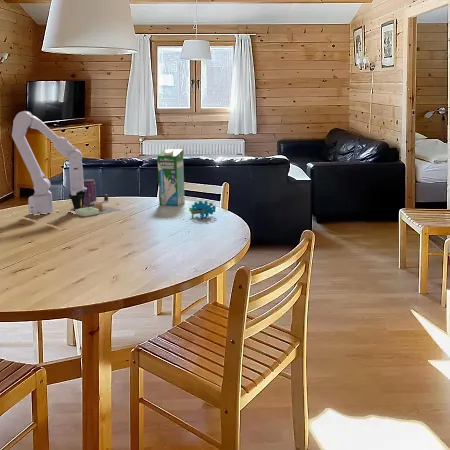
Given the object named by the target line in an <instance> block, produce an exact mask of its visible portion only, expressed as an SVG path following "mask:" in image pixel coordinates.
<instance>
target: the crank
mask: <svg viewBox="0 0 450 450" xmlns="http://www.w3.org/2000/svg"><path fill="white" fill-rule="evenodd" d="M97 204H102V205H103V204H109V194H107V193H106V194H103V200H96V202H88V203H87V205H88V206H93V205H97Z"/></svg>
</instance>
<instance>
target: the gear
mask: <svg viewBox="0 0 450 450" xmlns="http://www.w3.org/2000/svg"><path fill="white" fill-rule="evenodd" d="M213 204H214V203H212V202H209V204H208V201H207V200H205V201H204V202H203V201H202V200H198V202H197V201H195V202H194V203H193V204H191V207H189V210H188V211H189V212H190V214H191V219H194V217H195V216H194V215H199V216H201V220H204V219H205V216H206V217H208V216H209V215H211V216H212V215H214V213H216V206H215V205H213Z"/></svg>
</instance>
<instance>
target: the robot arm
mask: <svg viewBox="0 0 450 450" xmlns="http://www.w3.org/2000/svg"><path fill="white" fill-rule="evenodd" d="M12 122H13V125H12V130H11V131H12V132H11V138H12V139H13V142H14V144H15V146H16V148H17V150H18V152H19V154H20V156H21V158H22V160H23V163H24V165H25V166H26V168H27V170H28V172H29V175H30V178H31V180H32V184H33V190H34V192H33V195H31V196H29V197H28V198H27V199H28V200H27V201H28V204H27V205H28V212H29V213H32V214H42V213H51V212H53V213H54V207H53V194H52V192H51V191H50V189H51V187H52V186H51V184H52V183H51V180H50V179H48V178H47V177H46V176H45V173H44V172H43V170H42V169H41V167H40V165H39V163H38V160H37V159H36V156H35V155H34V152H33V150H32V148H31V146H30V144H29V142H28V140H27V137H26V134H27V131H28V129H29V128H30V129H33V130H38V131H39V132H40V133H41V134H42V135H44V136H45V137H46V138H47V139H49V140H50V141H51V142H52V143H53V144H52V145H53V148H54V149H56V150H57V151H58V152H59V153H60V154H61V155H62V156H64V157H66V158H67V161H68V162H69V163H68V164H69V167H68V172H69V185H70V188H69V190H70V193H69V194H68V198H70V200H71V202H72V206H73V210H75V209H80V206H81V198H82V208H84V206H83V202H84V197H85V194H86V191H82V190H86V189H87V188H84V167H83V161H82V160H83V153H82V152H81V151H80V149H78V148H77V146H76V145H72V144H71V143H70V142H69V141H68V138H67V137H64V136H58V134H56V133H55V132H54V131H53V130H52V129H50V127H49V126H47V125H46V124H45V123H44V122H43V120H41V119H39V117H37V116H35V115H33V114H32V112H31V111H27V110H23V111H20V112H18V113H17V114H15V117H14V119H13V121H12ZM29 213H28V214H29ZM51 214H52V213H51Z"/></svg>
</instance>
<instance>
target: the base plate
mask: <svg viewBox="0 0 450 450" xmlns="http://www.w3.org/2000/svg"><path fill="white" fill-rule="evenodd" d="M96 201H97V200H96ZM96 201H93V202H96ZM87 207H92V208H96V209H99V214H98V215H104V214H110V213H115V212H121V211H123V209H119V208H114V207H110V206H106V205H103V204H97V205H93V206H88V205H87V206H85V208H87ZM98 215H97V216H98ZM93 216H94V217H95V215H92V216H91V217H93ZM87 217H88V218H89V217H90V216H86V217H85V218H87Z"/></svg>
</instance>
